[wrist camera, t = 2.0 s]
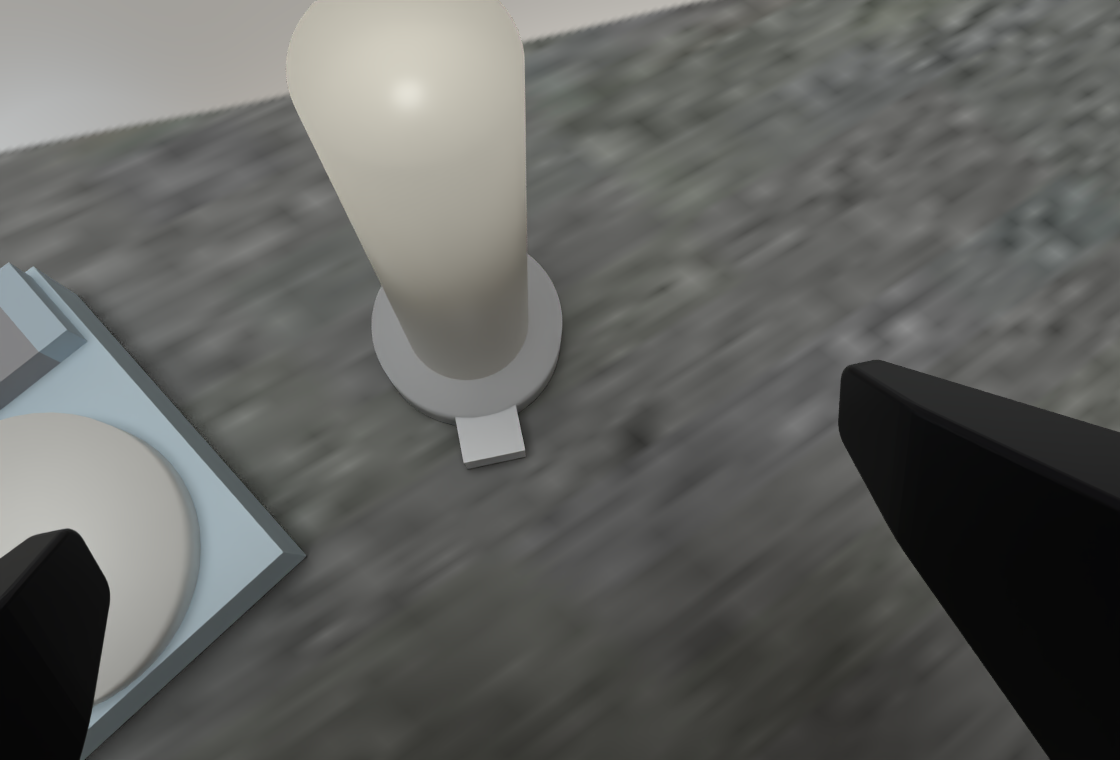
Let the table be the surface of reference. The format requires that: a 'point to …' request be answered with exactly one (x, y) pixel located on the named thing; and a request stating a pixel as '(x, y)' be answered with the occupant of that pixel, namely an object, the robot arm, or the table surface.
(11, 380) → the grey socket base
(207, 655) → the table surface
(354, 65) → the crank handle
